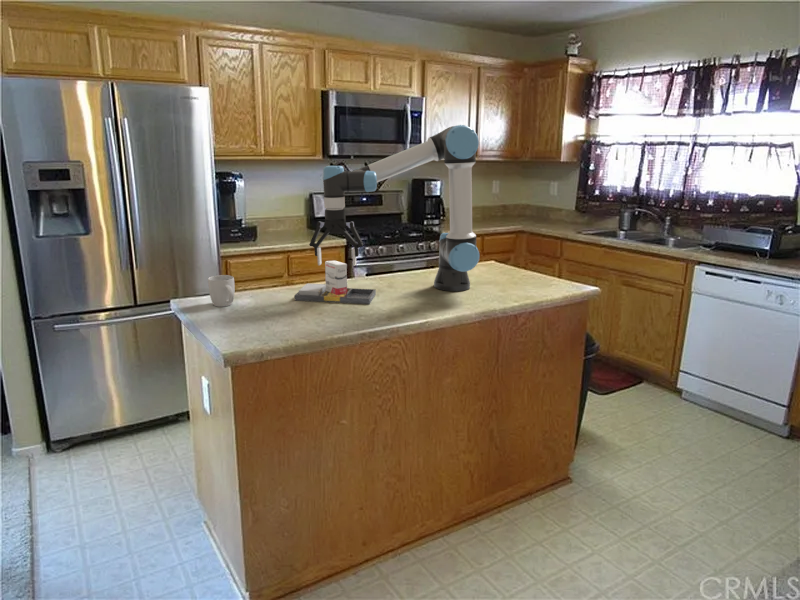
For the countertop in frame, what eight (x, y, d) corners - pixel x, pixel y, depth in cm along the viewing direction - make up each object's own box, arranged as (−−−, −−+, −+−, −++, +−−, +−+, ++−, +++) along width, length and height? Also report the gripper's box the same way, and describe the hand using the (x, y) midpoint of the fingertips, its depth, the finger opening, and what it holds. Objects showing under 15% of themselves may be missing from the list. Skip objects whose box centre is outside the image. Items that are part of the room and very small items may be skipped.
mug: (205, 303, 201) (203, 277, 199) (229, 299, 207) (227, 273, 205) (221, 311, 192) (219, 284, 190) (244, 307, 198) (243, 280, 195)
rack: (375, 294, 218) (375, 289, 218) (369, 304, 205) (369, 298, 204) (305, 291, 221) (305, 285, 221) (294, 300, 208) (294, 294, 207)
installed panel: (325, 291, 219) (325, 284, 218) (318, 299, 208) (318, 291, 207) (307, 290, 220) (307, 283, 219) (299, 298, 209) (298, 290, 208)
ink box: (347, 293, 211) (347, 263, 208) (336, 295, 208) (336, 265, 205) (335, 288, 217) (335, 259, 214) (324, 290, 214) (324, 261, 211)
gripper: (369, 207, 206) (371, 263, 212) (305, 207, 209) (308, 262, 215) (366, 210, 199) (367, 267, 205) (299, 209, 202) (302, 266, 207)
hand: (337, 264), depth 210 cm, fingers open, 13 cm apart
